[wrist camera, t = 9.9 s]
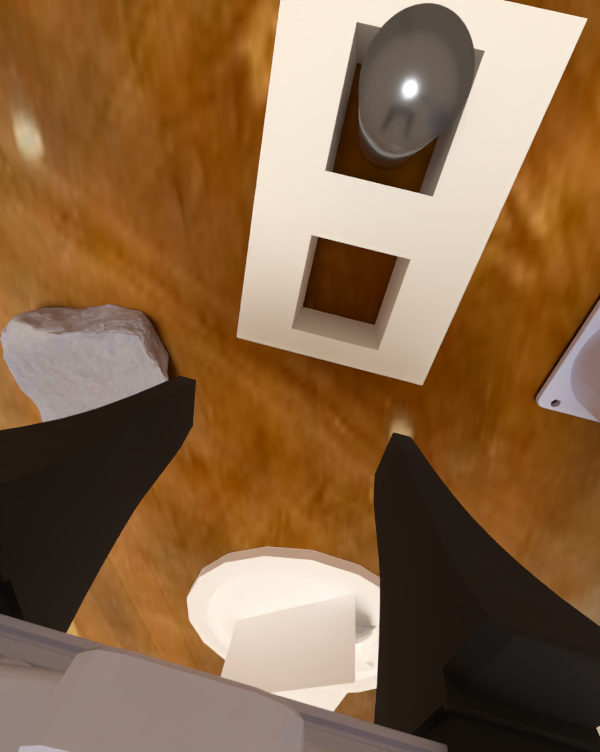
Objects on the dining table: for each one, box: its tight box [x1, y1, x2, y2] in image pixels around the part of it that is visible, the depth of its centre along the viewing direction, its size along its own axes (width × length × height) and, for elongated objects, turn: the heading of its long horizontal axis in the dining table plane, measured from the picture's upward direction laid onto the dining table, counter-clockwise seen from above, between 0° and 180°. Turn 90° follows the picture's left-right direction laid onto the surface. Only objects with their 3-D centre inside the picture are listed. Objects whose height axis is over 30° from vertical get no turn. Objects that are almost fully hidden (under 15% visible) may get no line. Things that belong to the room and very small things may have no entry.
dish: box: [187, 546, 380, 711], centre depth 32 cm, size 25×25×11 cm
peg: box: [358, 3, 475, 169], centre depth 13 cm, size 3×3×8 cm
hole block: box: [237, 0, 587, 385], centre depth 16 cm, size 10×14×4 cm
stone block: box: [0, 304, 169, 422], centre depth 25 cm, size 12×5×10 cm
